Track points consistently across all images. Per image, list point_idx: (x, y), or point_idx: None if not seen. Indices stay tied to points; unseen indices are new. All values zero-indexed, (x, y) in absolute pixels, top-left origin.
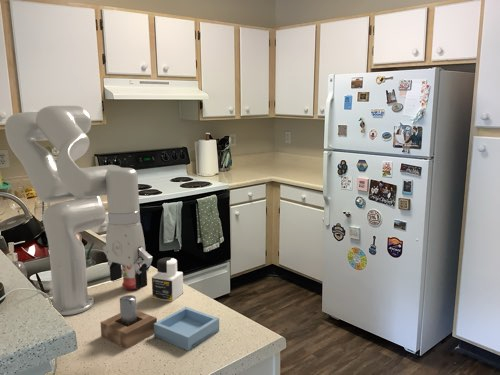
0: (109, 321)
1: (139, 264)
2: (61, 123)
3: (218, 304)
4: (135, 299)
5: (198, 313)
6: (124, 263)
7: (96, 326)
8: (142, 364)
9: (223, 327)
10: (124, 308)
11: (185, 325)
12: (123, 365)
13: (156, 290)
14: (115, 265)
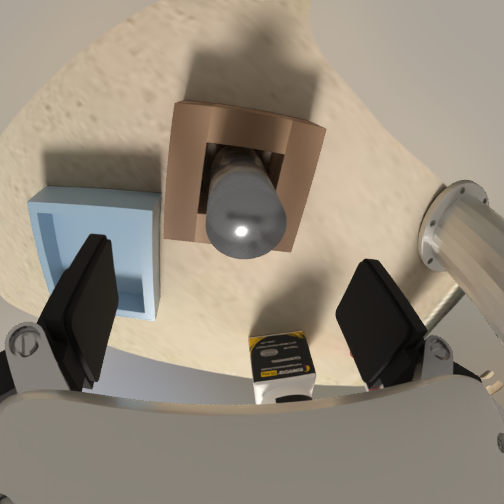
0: (299, 145)
1: (369, 389)
2: None
3: (151, 358)
4: (208, 237)
5: None
6: (126, 431)
7: (359, 165)
8: (91, 71)
9: None
10: (234, 176)
11: (118, 265)
12: (133, 37)
13: (295, 348)
14: (392, 360)
